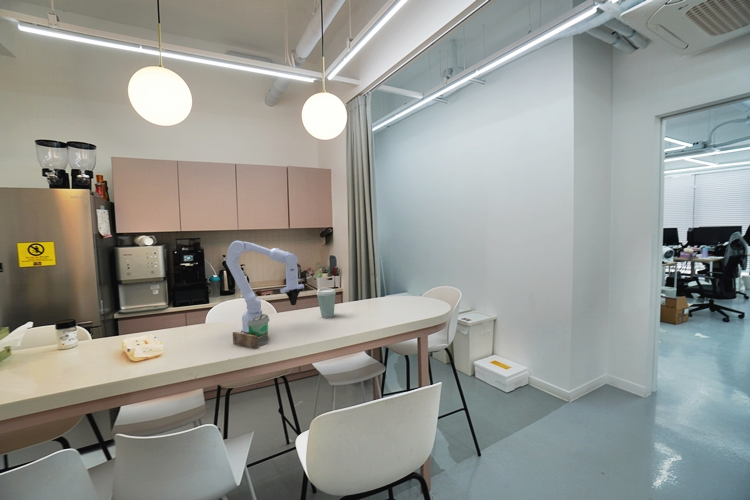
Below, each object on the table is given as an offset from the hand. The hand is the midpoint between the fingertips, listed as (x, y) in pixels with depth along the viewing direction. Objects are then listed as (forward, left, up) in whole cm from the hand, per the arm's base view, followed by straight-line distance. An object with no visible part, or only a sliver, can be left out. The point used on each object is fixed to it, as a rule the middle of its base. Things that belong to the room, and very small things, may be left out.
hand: (293, 304), depth 166 cm
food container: (+2, -22, -11) cm, 25 cm away
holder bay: (+2, -28, -10) cm, 30 cm away
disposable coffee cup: (+5, +20, -11) cm, 23 cm away
